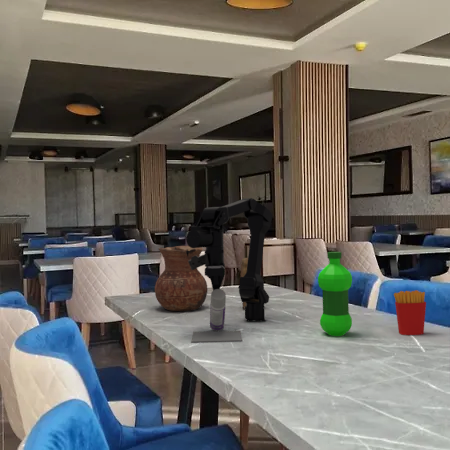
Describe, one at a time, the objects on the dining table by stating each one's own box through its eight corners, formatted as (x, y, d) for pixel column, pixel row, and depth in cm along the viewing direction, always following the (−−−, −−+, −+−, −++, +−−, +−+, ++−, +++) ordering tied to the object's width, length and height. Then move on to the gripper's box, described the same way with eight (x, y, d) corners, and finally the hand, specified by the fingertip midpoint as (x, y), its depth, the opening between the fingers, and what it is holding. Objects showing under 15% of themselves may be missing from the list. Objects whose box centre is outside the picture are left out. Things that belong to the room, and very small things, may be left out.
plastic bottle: (340, 329, 167) (338, 250, 167) (360, 335, 158) (358, 252, 157) (313, 332, 164) (311, 252, 163) (331, 339, 154) (329, 254, 153)
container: (216, 317, 173) (217, 286, 163) (227, 324, 171) (229, 293, 161) (206, 325, 170) (207, 294, 161) (217, 333, 168) (219, 302, 158)
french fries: (422, 331, 161) (421, 289, 161) (428, 334, 157) (427, 291, 157) (392, 332, 161) (392, 290, 161) (397, 335, 157) (397, 292, 156)
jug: (215, 310, 206) (213, 246, 205) (163, 315, 198) (161, 249, 198) (197, 302, 226) (195, 244, 226) (149, 306, 219) (147, 246, 218)
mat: (240, 331, 167) (240, 330, 167) (242, 341, 154) (242, 339, 154) (193, 332, 167) (193, 331, 167) (191, 342, 154) (191, 341, 154)
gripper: (191, 245, 178) (192, 291, 178) (187, 248, 159) (188, 300, 160) (224, 244, 178) (225, 290, 178) (224, 247, 159) (225, 299, 160)
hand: (215, 295), depth 169 cm, fingers closed
